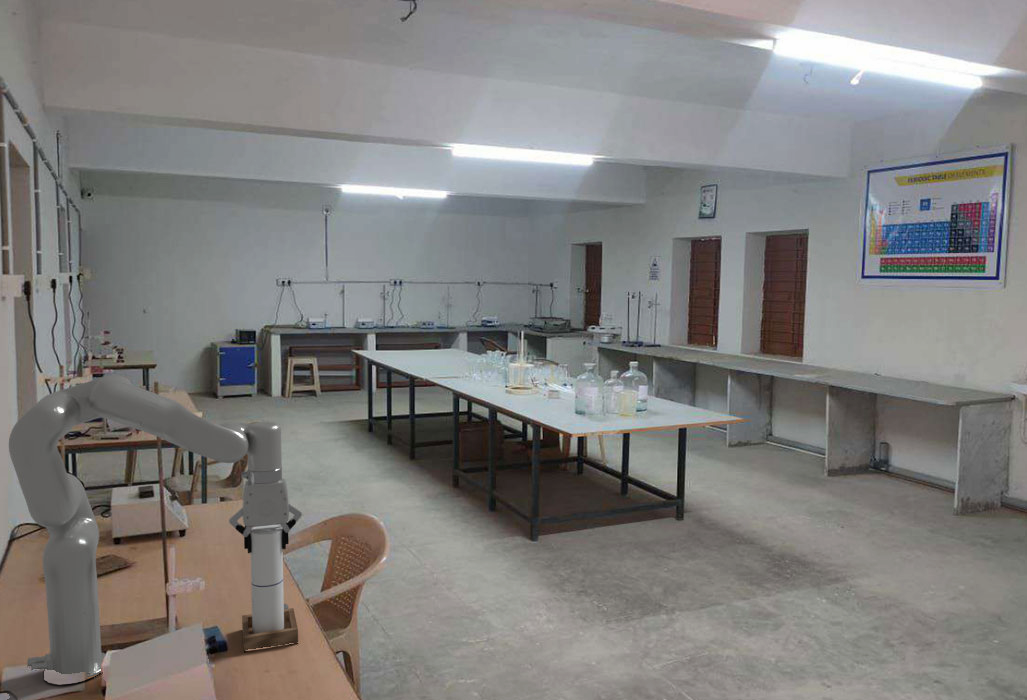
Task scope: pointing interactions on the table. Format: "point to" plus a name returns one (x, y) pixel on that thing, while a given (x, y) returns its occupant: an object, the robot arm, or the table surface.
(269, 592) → the cylindrical container
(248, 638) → the walnut stand
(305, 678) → the table surface
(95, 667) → the robot arm
